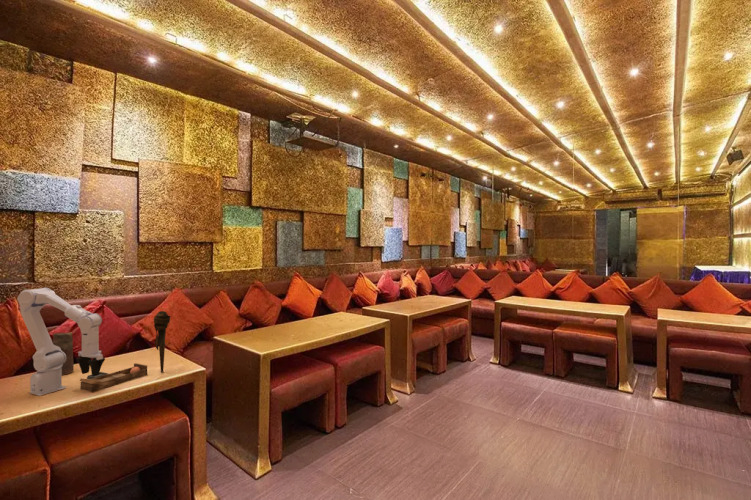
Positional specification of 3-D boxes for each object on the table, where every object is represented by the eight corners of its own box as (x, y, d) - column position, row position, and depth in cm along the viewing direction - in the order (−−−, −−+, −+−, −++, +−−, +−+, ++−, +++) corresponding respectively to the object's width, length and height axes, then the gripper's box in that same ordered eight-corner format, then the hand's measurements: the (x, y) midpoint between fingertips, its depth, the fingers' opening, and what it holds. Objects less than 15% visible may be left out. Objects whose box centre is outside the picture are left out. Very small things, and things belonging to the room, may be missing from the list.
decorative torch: (163, 369, 178) (162, 309, 179) (173, 371, 176) (173, 310, 176) (150, 374, 172) (150, 311, 172) (160, 375, 170) (160, 312, 170)
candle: (49, 375, 172) (49, 333, 172) (67, 370, 179) (66, 330, 179) (60, 376, 170) (59, 334, 170) (77, 371, 177) (77, 331, 177)
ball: (136, 366, 168) (132, 374, 167) (143, 368, 172) (139, 376, 170) (130, 365, 170) (126, 374, 168) (138, 367, 173) (134, 376, 171)
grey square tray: (94, 383, 160) (94, 377, 160) (86, 381, 162) (86, 375, 163) (109, 379, 165) (109, 373, 165) (101, 377, 168) (101, 371, 168)
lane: (91, 392, 150) (91, 381, 150) (79, 389, 154) (79, 378, 154) (147, 374, 171) (147, 365, 171) (135, 372, 175) (135, 363, 175)
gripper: (110, 342, 154) (110, 373, 154) (91, 339, 160) (91, 369, 160) (91, 346, 148) (92, 379, 148) (72, 342, 154) (72, 374, 154)
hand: (90, 374), depth 153 cm, fingers open, 7 cm apart
